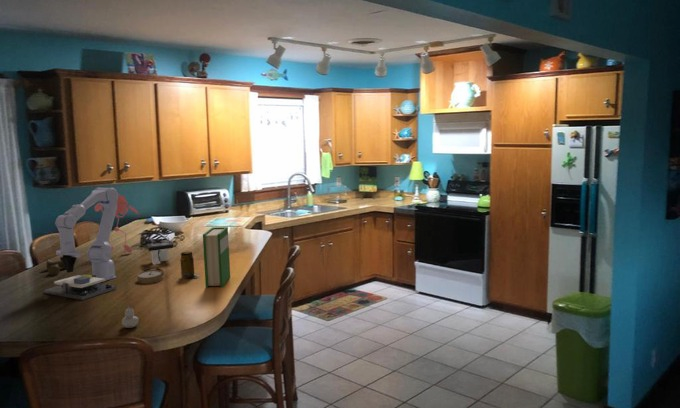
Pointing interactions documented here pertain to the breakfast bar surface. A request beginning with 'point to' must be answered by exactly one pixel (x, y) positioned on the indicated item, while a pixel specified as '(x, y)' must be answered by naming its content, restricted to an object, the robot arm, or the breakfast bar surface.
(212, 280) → the hardback book
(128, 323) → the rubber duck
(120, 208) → the figurine
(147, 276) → the alarm clock
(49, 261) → the kendama
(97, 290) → the base
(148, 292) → the breakfast bar surface
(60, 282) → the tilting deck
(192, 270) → the condiment
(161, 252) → the black-topped pedestal
